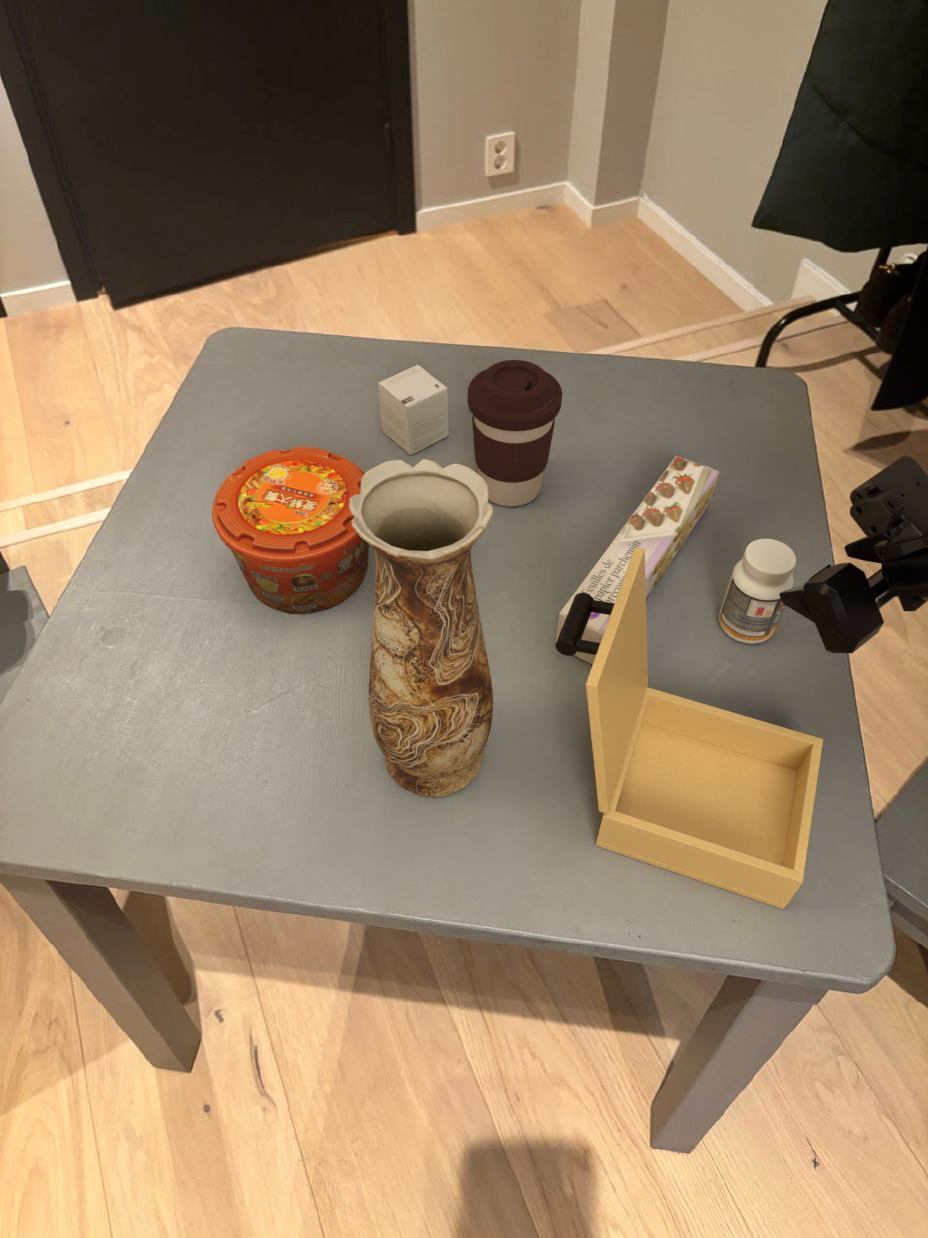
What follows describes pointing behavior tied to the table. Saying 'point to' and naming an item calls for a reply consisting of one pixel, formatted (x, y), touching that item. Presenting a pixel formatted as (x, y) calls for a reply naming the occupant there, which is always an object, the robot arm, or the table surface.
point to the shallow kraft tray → (716, 798)
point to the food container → (294, 528)
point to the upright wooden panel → (612, 671)
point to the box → (647, 539)
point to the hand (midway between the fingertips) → (815, 573)
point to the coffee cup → (513, 428)
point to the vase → (426, 622)
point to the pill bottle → (757, 591)
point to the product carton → (414, 409)
